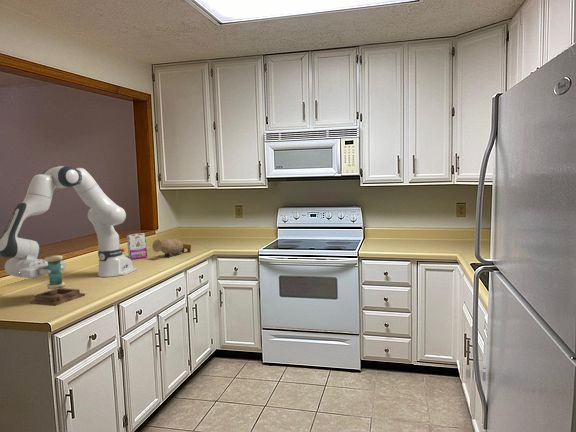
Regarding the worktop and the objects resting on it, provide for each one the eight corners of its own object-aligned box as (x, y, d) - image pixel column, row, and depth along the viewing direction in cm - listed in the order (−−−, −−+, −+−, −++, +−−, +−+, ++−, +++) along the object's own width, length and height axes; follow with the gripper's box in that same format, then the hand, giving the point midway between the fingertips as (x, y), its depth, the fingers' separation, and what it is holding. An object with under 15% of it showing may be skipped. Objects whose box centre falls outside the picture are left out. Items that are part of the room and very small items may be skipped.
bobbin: (57, 284, 210) (54, 255, 209) (68, 285, 207) (65, 255, 206) (44, 288, 204) (41, 258, 202) (55, 289, 201) (52, 258, 200)
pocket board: (59, 293, 217) (59, 287, 216) (84, 295, 210) (84, 289, 210) (29, 302, 202) (29, 296, 202) (55, 305, 196) (55, 298, 195)
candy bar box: (145, 256, 306) (143, 232, 304) (147, 257, 302) (145, 233, 300) (128, 259, 299) (126, 234, 298) (130, 260, 295) (128, 235, 294)
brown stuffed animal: (180, 257, 319) (150, 257, 292) (181, 240, 320) (151, 238, 293) (191, 257, 315) (162, 257, 288) (192, 240, 316) (163, 238, 289)
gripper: (12, 266, 200) (35, 267, 194) (52, 257, 219) (73, 258, 213) (14, 280, 200) (36, 282, 195) (53, 270, 219) (74, 272, 214)
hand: (56, 269), depth 204 cm, fingers closed on bobbin, 5 cm apart
